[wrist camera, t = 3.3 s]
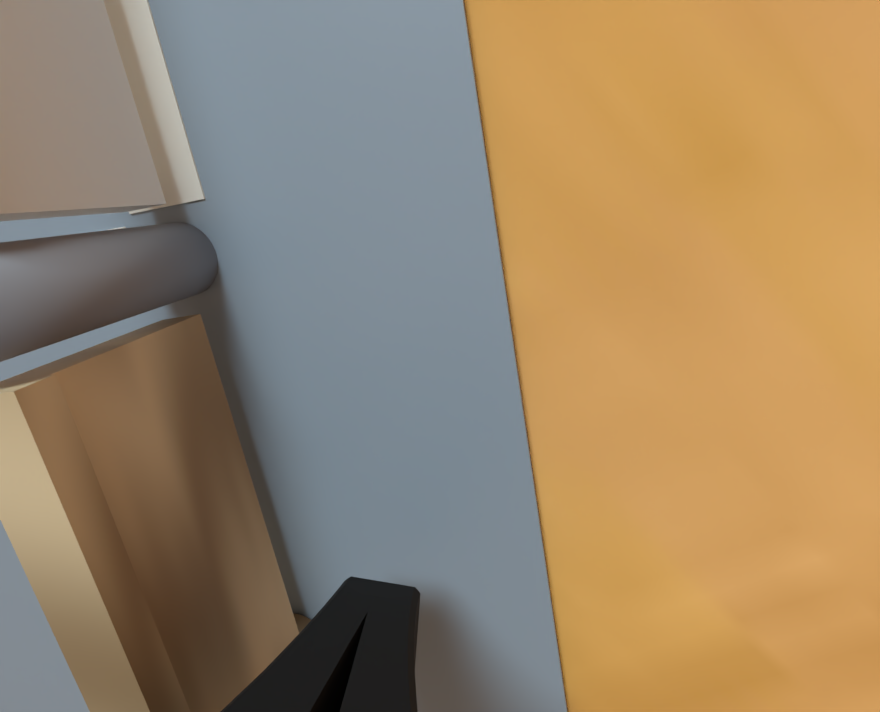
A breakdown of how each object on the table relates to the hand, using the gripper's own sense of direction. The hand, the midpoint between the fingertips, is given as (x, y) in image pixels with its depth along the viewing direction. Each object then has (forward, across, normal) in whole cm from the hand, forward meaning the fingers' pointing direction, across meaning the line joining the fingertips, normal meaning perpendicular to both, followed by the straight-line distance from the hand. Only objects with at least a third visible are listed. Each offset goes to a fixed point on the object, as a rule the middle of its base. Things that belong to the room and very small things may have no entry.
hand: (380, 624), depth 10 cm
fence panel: (+2, +3, -1) cm, 4 cm away
